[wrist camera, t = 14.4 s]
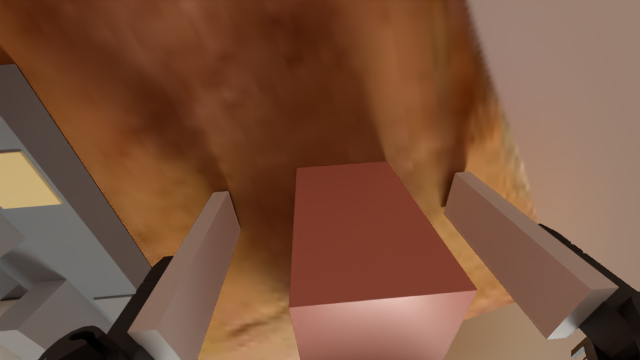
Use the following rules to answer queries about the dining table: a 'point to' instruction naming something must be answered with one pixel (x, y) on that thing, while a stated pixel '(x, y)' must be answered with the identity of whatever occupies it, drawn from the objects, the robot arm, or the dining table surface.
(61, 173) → the panel
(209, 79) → the dining table surface
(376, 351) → the cap
